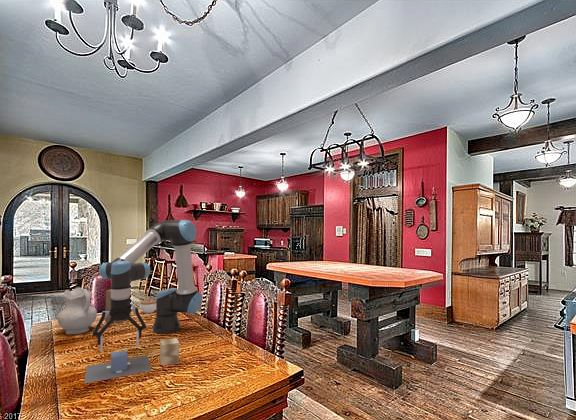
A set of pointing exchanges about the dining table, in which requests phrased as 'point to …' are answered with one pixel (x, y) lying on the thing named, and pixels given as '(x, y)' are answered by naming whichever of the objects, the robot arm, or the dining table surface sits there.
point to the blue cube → (119, 361)
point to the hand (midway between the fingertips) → (119, 348)
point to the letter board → (104, 371)
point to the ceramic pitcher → (77, 312)
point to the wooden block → (108, 306)
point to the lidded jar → (148, 306)
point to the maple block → (169, 351)
